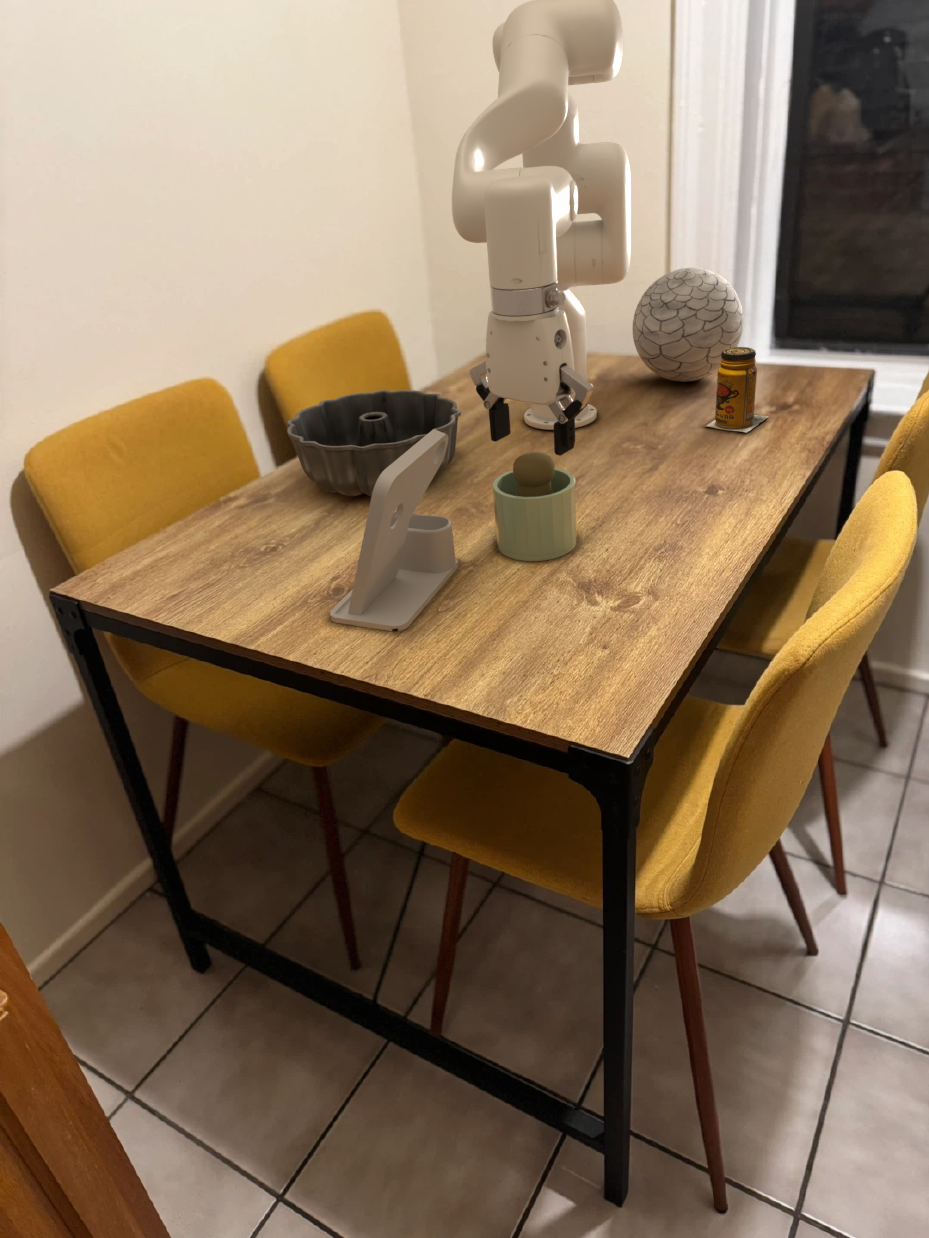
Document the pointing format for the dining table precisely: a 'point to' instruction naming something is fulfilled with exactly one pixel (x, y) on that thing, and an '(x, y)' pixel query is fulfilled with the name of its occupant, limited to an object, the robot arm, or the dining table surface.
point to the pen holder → (535, 519)
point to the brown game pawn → (534, 474)
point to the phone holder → (401, 545)
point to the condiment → (736, 391)
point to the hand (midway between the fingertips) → (532, 444)
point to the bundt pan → (367, 435)
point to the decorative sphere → (687, 324)
